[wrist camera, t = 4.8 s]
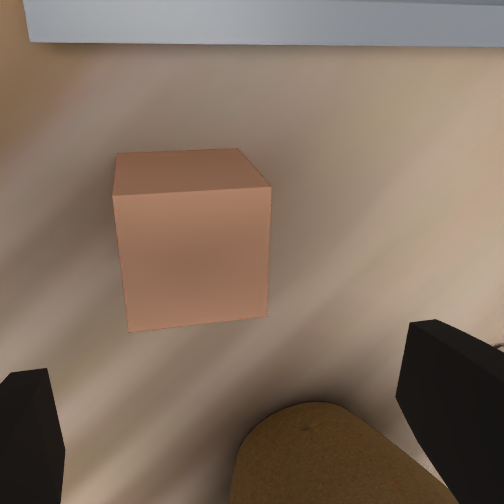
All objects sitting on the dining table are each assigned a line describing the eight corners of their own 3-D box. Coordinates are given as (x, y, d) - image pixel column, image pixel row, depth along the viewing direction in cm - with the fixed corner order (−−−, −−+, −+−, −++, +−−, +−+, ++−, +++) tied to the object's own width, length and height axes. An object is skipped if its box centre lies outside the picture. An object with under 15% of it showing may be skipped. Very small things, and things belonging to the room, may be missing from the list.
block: (129, 262, 19) (128, 332, 15) (117, 152, 17) (112, 196, 13) (237, 252, 20) (267, 316, 15) (237, 147, 18) (271, 186, 14)
